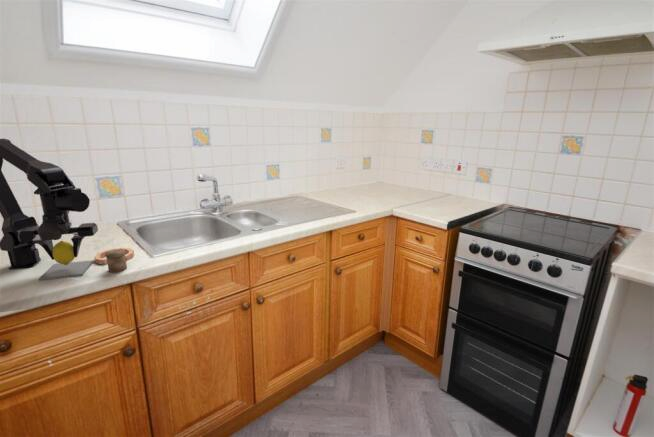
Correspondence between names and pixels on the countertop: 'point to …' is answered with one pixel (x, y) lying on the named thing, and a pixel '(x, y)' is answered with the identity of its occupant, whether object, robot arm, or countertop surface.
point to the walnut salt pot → (116, 260)
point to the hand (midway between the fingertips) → (65, 258)
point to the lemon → (63, 253)
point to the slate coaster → (66, 270)
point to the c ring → (99, 256)
